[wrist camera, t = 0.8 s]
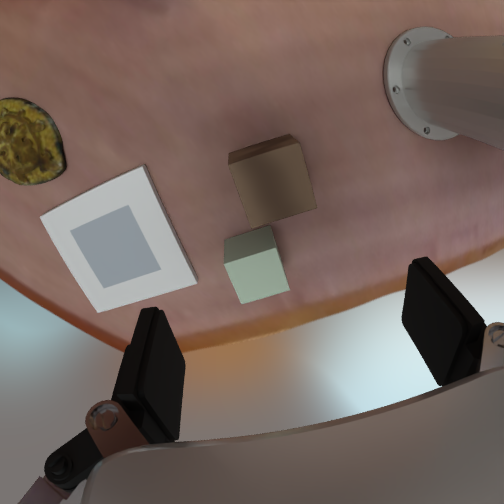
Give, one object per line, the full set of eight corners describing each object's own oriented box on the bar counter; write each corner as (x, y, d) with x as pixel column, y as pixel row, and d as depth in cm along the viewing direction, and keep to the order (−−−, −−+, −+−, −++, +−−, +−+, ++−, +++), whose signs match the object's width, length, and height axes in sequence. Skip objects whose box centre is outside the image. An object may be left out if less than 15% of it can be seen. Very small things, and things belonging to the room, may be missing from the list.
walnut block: (289, 133, 29) (299, 142, 25) (305, 190, 32) (317, 207, 27) (228, 153, 29) (228, 165, 25) (248, 207, 32) (251, 228, 28)
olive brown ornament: (87, 123, 28) (-7, 85, 23) (69, 125, 24) (-30, 84, 19) (58, 201, 31) (-28, 157, 26) (39, 214, 26) (-51, 164, 22)
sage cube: (269, 224, 33) (276, 247, 29) (282, 263, 36) (289, 289, 31) (224, 239, 34) (223, 264, 29) (240, 276, 36) (241, 304, 32)
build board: (144, 163, 29) (142, 166, 28) (198, 278, 36) (197, 283, 35) (43, 213, 31) (39, 217, 30) (100, 308, 37) (97, 313, 36)
